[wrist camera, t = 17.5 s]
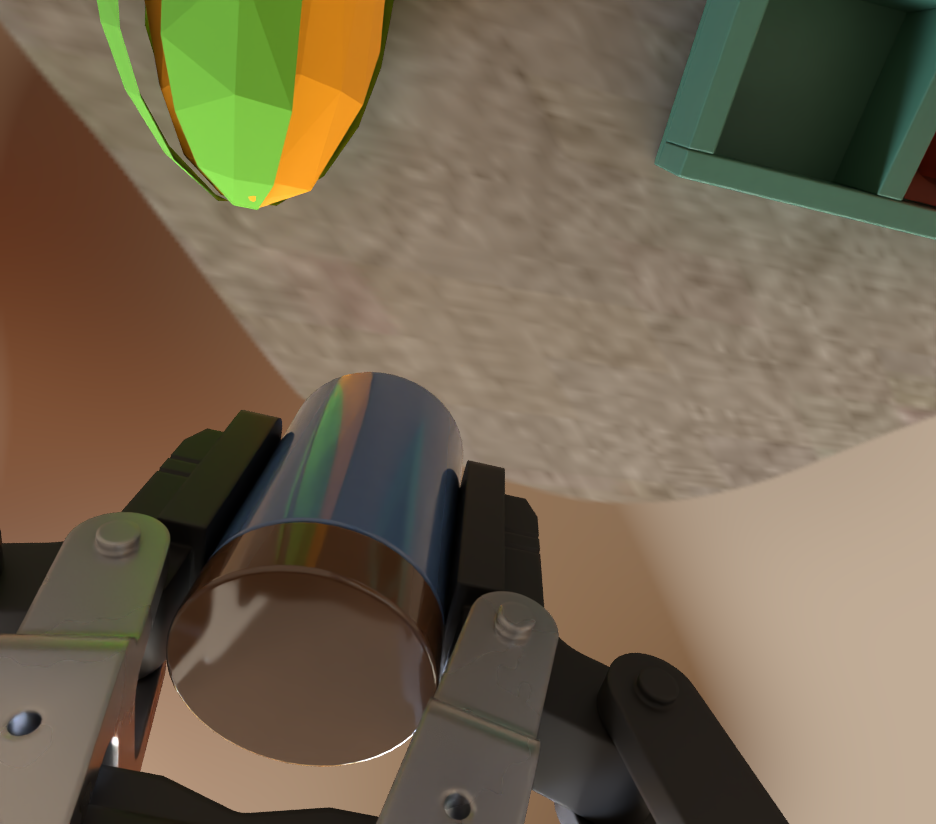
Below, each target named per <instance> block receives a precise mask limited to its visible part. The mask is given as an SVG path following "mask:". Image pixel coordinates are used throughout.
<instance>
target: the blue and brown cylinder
mask: <svg viewBox="0 0 936 824" xmlns="http://www.w3.org/2000/svg"><path fill="white" fill-rule="evenodd" d="M462 464H463V446H462V439H461V436H460V432H459V429H458V427H457V425H456V422H455V420H454V419H453V417H452V416H451V414H450V412H449V411H448V410H447V409H446V407H445V406H444V405H443V404H442V403H441V402H440V401H439V400H438V399H437V398H436V397H435V396H434V395H433V394H432V393H430V392H429V391H427V390H426V389H425V388H423V387H421V386H420V385H418V384H416V383H414V382H412V381H410V380H407V379H405V378H402V377H399V376H395V375H391V374H385V373H377V372H364V373H355V374H350V375H345V376H342V377H339V378H336V379H334V380H332V381H330V382H328V383H326V384H324V385H323V386H321V387H320V388H318V389H317V390H316V391H315V392H314V393H313V394H311V395H310V396H309V397H308V399H307V400H306V401H305V402H304V404H303V405H302V407H301V408H300V410H299V411H298V413H297V415H296V417H295V418H294V420H293V421H292V423H291V425H290V426H289V428H288V430H287V431H286V433H285V434H284V436H283V438H282V439H281V441H280V443H279V444H278V446H277V447H276V449H275V451H274V452H273V454H272V456H271V457H270V459H269V461H268V462H267V464H266V466H265V467H264V469H263V470H262V472H261V474H260V475H259V477H258V479H257V480H256V482H255V484H254V485H253V487H252V488H251V490H250V492H249V493H248V495H247V497H246V498H245V500H244V502H243V503H242V505H241V506H240V508H239V510H238V511H237V513H236V515H235V516H234V518H233V520H232V521H231V523H230V525H229V526H228V528H227V529H226V531H225V533H224V534H223V536H222V538H221V539H220V541H219V543H218V544H217V546H216V547H215V549H214V551H213V552H212V554H211V556H210V557H209V559H208V561H207V562H206V564H205V565H204V567H203V569H202V570H201V572H200V574H199V575H198V577H197V579H196V580H195V582H194V584H193V585H192V587H191V588H190V590H189V592H188V593H187V595H186V597H185V598H184V600H183V602H182V603H181V605H180V606H179V608H178V610H177V612H176V613H175V615H174V617H173V619H172V621H171V624H170V627H169V630H168V633H167V641H166V662H167V666H168V671H169V675H170V677H171V680H172V682H173V685H174V687H175V689H176V691H177V692H178V694H179V696H180V697H181V699H182V700H183V702H184V703H185V704H186V706H187V707H188V708H189V710H190V711H191V712H192V713H193V714H194V715H195V716H196V717H197V718H198V719H199V720H200V721H201V722H202V723H204V724H205V725H206V726H207V727H208V728H210V729H211V730H212V731H213V732H215V733H216V734H218V735H219V736H221V737H222V738H224V739H225V740H227V741H229V742H231V743H233V744H234V745H236V746H238V747H240V748H242V749H245V750H247V751H249V752H252V753H254V754H257V755H260V756H263V757H266V758H269V759H272V760H276V761H281V762H285V763H290V764H297V765H303V766H319V767H321V766H341V765H349V764H355V763H359V762H364V761H368V760H370V759H373V758H376V757H380V756H382V755H384V754H386V753H388V752H390V751H393V750H394V749H396V748H397V747H399V746H401V745H402V744H404V743H405V742H406V741H407V740H409V739H410V738H411V737H412V736H413V735H414V733H415V730H416V728H417V726H418V723H419V721H420V719H421V716H422V714H423V711H424V709H425V707H426V705H427V703H428V701H429V699H430V697H431V696H432V697H434V695H435V693H436V690H437V688H438V685H439V679H440V670H441V660H442V651H443V642H444V632H445V621H446V612H447V602H448V593H449V584H450V575H451V565H452V556H453V547H454V537H455V528H456V519H457V510H458V500H459V491H460V482H461V473H462Z"/></svg>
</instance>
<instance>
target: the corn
mask: <svg viewBox="0 0 936 824" xmlns="http://www.w3.org/2000/svg"><path fill="white" fill-rule="evenodd" d="M393 2H394V0H145V26H146V30H147V33H148V36H149V40H150V43H151V46H152V49H153V53H154V56H155V62H156V68H157V73H158V79H159V84H160V87H161V90H162V93H163V96H164V99H165V102H166V105H167V108H168V110H169V113H170V116H171V119H172V122H173V125H174V128H175V131H176V133H177V136H178V139H179V142H180V145H181V148H182V151H183V153H184V155H185V156H186V158H187V159H188V160H189V161H190V162H191V163H192V164H193V165H194V166H195V167H196V168H197V169H198V170H199V171H200V173H201V174H202V175H203V176H204V177H205V178H206V179H207V180H208V181H209V182H210V183H211V184H212V185H213V186H214V188H215V189H216V190H217V191H218V192H219V193H220V194H221V195H224V196H225V197H226V198H227V199H228V200H229V201H230V202H231V203H232V204H233V205H235V206H240V207H245V208H250V209H255V210H258V209H259V208H260V207H263V206H266V205H275V206H277V205H278V204H280V203H282V202H283V201H285V200H286V199H288V198H290V197H293V196H296V195H299V194H302V193H305V192H308V191H311V189H312V188H313V186H314V185H315V183H316V181H317V180H318V179H320V178H322V177H323V176H324V175H325V174H326V172H327V171H328V170H329V168H330V167H331V165H332V164H333V162H334V161H335V160H336V158H337V157H338V155H339V154H340V152H341V151H342V150H343V148H344V147H345V145H346V144H347V143H348V141H349V140H350V138H351V137H352V135H353V134H354V133H355V131H356V130H357V128H358V127H359V124H360V122H361V119H362V116H363V114H364V111H365V108H366V106H367V103H368V101H369V98H370V95H371V93H372V90H373V87H374V85H375V82H376V80H377V77H378V74H379V72H380V69H381V65H382V60H383V55H384V49H385V44H386V39H387V34H388V28H389V23H390V18H391V13H392V7H393ZM97 3H98V9H99V15H100V21H101V24H102V27H103V29H104V32H105V35H106V38H107V40H108V43H109V46H110V49H111V52H112V54H113V57H114V60H115V63H116V65H117V68H118V71H119V74H120V77H121V79H122V82H123V85H124V88H125V89H126V91H127V93H128V94H129V96H130V98H131V99H132V101H133V102H134V104H135V106H136V107H137V109H138V111H139V112H140V114H141V115H142V117H143V119H144V120H145V122H146V124H147V125H148V127H149V128H150V130H151V132H152V133H153V135H154V137H155V138H156V140H157V141H158V143H159V145H160V146H161V148H162V150H163V151H164V153H165V154H167V155H168V156H169V157H170V158H171V159H172V160H173V161H174V162H175V163H177V164H178V165H179V166H180V167H181V168H182V169H183V170H184V171H185V172H187V173H188V174H189V175H190V176H191V177H192V178H193V179H194V180H195V181H197V182H198V183H199V184H200V185H201V186H202V187H203V188H204V189H205V190H207V191H208V192H209V193H210V194H211V195H212V196H213V197H214V198H215V199H217V200H218V201H228V200H226V199H224V198H222V197H220V196H218V195H215V194H214V193H213V192H212V190H211V189H210V188H209V187H208V186H207V185H206V184H205V183H204V182H203V181H202V180H201V179H200V178H199V177H198V176H197V175H196V174H195V173H194V171H193V170H192V169H191V168H190V167H189V166H188V165H187V164H186V163H185V162H184V161H183V160H182V159H181V158H180V157H179V156H178V155H177V154H176V152H175V151H174V150H173V149H172V148H171V147H170V146H169V145H168V143H167V141H166V139H165V138H164V136H163V134H162V132H161V130H160V129H159V127H158V125H157V123H156V121H155V120H154V118H153V116H152V114H151V112H150V111H149V109H148V107H147V105H146V103H145V102H144V100H143V98H142V96H141V94H140V93H139V90H138V86H137V83H136V80H135V76H134V73H133V70H132V66H131V63H130V60H129V57H128V53H127V50H126V47H125V43H124V40H123V37H122V34H121V30H120V23H119V8H118V0H97Z"/></svg>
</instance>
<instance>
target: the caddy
mask: <svg viewBox="0 0 936 824" xmlns="http://www.w3.org/2000/svg"><path fill="white" fill-rule="evenodd" d="M935 132H936V0H707V2H706V5H705V8H704V11H703V15H702V18H701V21H700V24H699V27H698V30H697V33H696V36H695V39H694V42H693V45H692V48H691V51H690V55H689V58H688V61H687V64H686V67H685V70H684V73H683V76H682V79H681V82H680V85H679V88H678V92H677V95H676V98H675V101H674V104H673V107H672V110H671V113H670V116H669V119H668V122H667V125H666V128H665V132H664V135H663V138H662V141H661V144H660V147H659V150H658V153H657V156H656V159H655V165H657V166H659V167H661V168H663V169H665V170H667V171H669V172H671V173H673V174H675V175H677V176H679V177H681V178H685V179H689V180H693V181H698V182H702V183H706V184H710V185H714V186H718V187H722V188H726V189H730V190H734V191H738V192H743V193H747V194H751V195H755V196H759V197H763V198H767V199H771V200H775V201H779V202H783V203H788V204H792V205H796V206H800V207H804V208H808V209H812V210H816V211H820V212H824V213H828V214H833V215H837V216H841V217H845V218H849V219H853V220H857V221H861V222H865V223H869V224H873V225H878V226H882V227H886V228H890V229H894V230H898V231H902V232H906V233H910V234H914V235H918V236H922V237H927V238H931V239H935V240H936V185H934V184H932V183H930V182H928V181H927V180H926V179H925V178H923V177H922V176H921V175H920V173H919V172H918V171H917V169H918V167H919V165H920V163H921V161H922V159H923V157H924V155H925V153H926V151H927V148H928V146H929V144H930V142H931V140H932V138H933V136H934V134H935Z"/></svg>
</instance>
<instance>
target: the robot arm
mask: <svg viewBox="0 0 936 824" xmlns="http://www.w3.org/2000/svg"><path fill="white" fill-rule="evenodd" d="M281 433H282V420H281V418H277V417H273V416H268V415H263V414H259V413H255V412H250V411H246V410H241V411H240V412H239V413H238V414H237V416H236V417H235V418H234V419H233V421H232V422H231V423H230V424H229V426H228V427H227V428H226V430H225V431H224V432H221V431H216V430H211V429H205V430H203V431H201V432H199V433H197V434H195V435H193V436H191V437H189V438H187V439H185V440H184V441H183V442H182V443H181V444H180V445H179V446H178V448H177V449H176V450H175V451H174V452H173V453H172V454H171V457H170V458H168V459H167V460H166V461H165V462H164V464H163V465H162V466H161V467H160V470H159V471H157V472H156V473H155V474H154V475H153V476H152V477H151V478H150V480H149V481H148V482H147V483H146V484H145V485H144V486H143V488H142V489H141V490H140V491H139V492H138V493H137V494H136V496H135V497H134V498H133V499H132V500H131V501H130V502H129V504H128V505H127V506H126V507H125V508H124V509H123V510H122V512H117V513H109V514H103V515H100V516H97V517H94V518H91V519H88V520H86V521H84V522H82V523H81V524H79V525H78V526H76V527H75V528H74V529H73V530H72V531H71V532H70V533H69V534H68V535H67V537H66V538H65V540H64V541H63V542H52V543H2V538H1V531H0V824H524V821H525V817H526V812H527V807H528V803H529V798H530V793H531V790H533V791H535V792H537V793H539V794H541V795H543V796H545V797H546V798H548V799H550V800H552V801H554V805H555V810H556V813H557V816H558V818H559V821H560V823H561V824H789V823H788V822H787V820H786V819H785V817H784V816H783V814H782V813H781V811H780V810H779V809H778V807H777V806H776V804H775V803H774V801H773V800H772V799H771V797H770V795H769V794H768V793H767V791H766V790H765V788H764V787H763V785H762V784H761V783H760V781H759V780H758V778H757V777H756V775H755V774H754V772H753V771H752V770H751V768H750V766H749V765H748V764H747V762H746V761H745V759H744V758H743V756H742V755H741V754H740V752H739V751H738V749H737V748H736V746H735V745H734V743H733V742H732V740H731V739H730V738H729V736H728V735H727V733H726V732H725V730H724V729H723V727H722V726H721V725H720V723H719V722H718V720H717V719H716V717H715V716H714V714H713V713H712V712H711V710H710V709H709V707H708V706H707V704H706V703H705V701H704V700H703V699H702V697H701V696H700V694H699V693H698V691H697V690H696V688H695V687H694V686H693V684H692V683H691V682H690V681H689V679H688V678H687V677H686V676H685V675H684V674H683V673H681V672H680V671H679V670H678V669H677V668H675V667H674V666H672V665H670V664H669V663H667V662H665V661H664V660H662V659H659V658H657V657H654V656H651V655H647V654H641V653H629V654H624V655H622V656H619V657H618V658H616V659H615V660H614V661H613V662H612V664H611V665H610V667H608V666H606V665H604V664H602V663H600V662H598V661H596V660H593V659H592V658H589V657H587V656H585V655H583V654H581V653H580V652H578V651H576V650H574V649H573V648H571V647H570V646H568V645H567V644H566V643H565V642H564V641H562V640H561V639H560V638H559V637H558V628H557V625H556V623H555V621H554V619H553V618H552V617H551V615H550V614H549V612H548V611H547V610H545V608H544V600H543V587H542V573H541V559H540V554H539V551H540V545H539V539H538V536H539V534H538V533H539V532H538V519H537V516H536V514H535V513H534V511H533V510H532V508H531V506H530V505H529V503H528V502H527V500H526V499H524V498H519V497H514V496H510V495H506V494H505V469H504V468H501V467H496V466H492V465H487V464H483V463H478V462H474V461H469V460H468V461H467V464H466V467H465V471H464V475H463V478H462V482H461V486H460V491H459V500H458V510H457V519H456V528H455V537H454V547H453V556H452V565H451V575H450V584H449V593H448V602H447V612H446V621H445V632H444V642H443V651H442V660H441V670H440V679H439V685H438V688H437V690H436V693H435V695H434V697H432V696H431V697H430V699H429V701H428V703H427V705H426V707H425V709H424V711H423V714H422V716H421V719H420V721H419V723H418V726H417V728H416V730H415V733H414V735H413V738H412V740H411V742H410V745H409V747H408V749H407V752H406V754H405V757H404V759H403V761H402V763H401V766H400V768H399V770H398V773H397V775H396V778H395V780H394V782H393V785H392V787H391V790H390V792H389V794H388V797H387V799H386V801H385V804H384V806H383V808H382V811H381V813H380V815H379V817H377V816H371V815H366V814H361V813H356V812H351V811H345V810H340V809H335V808H315V809H301V810H287V811H272V812H258V813H240V812H236V811H233V810H231V809H229V808H227V807H225V806H223V805H221V804H219V803H217V802H215V801H213V800H210V799H209V798H206V797H204V796H202V795H201V794H199V793H197V792H194V791H193V790H190V789H188V788H186V787H184V786H182V785H180V784H178V783H176V782H174V781H172V780H170V779H168V778H166V777H164V776H161V775H155V774H150V773H145V772H140V770H141V766H142V762H143V758H144V754H145V750H146V746H147V742H148V739H149V735H150V731H151V727H152V723H153V719H154V715H155V711H156V707H157V703H158V699H159V695H160V691H161V687H162V684H163V679H164V676H165V670H166V641H167V633H168V630H169V627H170V624H171V621H172V619H173V617H174V615H175V613H176V612H177V610H178V608H179V606H180V605H181V603H182V602H183V600H184V598H185V597H186V595H187V593H188V592H189V590H190V588H191V587H192V585H193V584H194V582H195V580H196V579H197V577H198V575H199V574H200V572H201V570H202V569H203V567H204V565H205V564H206V562H207V561H208V559H209V557H210V556H211V554H212V552H213V551H214V549H215V547H216V546H217V544H218V543H219V541H220V539H221V538H222V536H223V534H224V533H225V531H226V529H227V528H228V526H229V525H230V523H231V521H232V520H233V518H234V516H235V515H236V513H237V511H238V510H239V508H240V506H241V505H242V503H243V502H244V500H245V498H246V497H247V495H248V493H249V492H250V490H251V488H252V487H253V485H254V484H255V482H256V480H257V479H258V477H259V475H260V474H261V472H262V470H263V469H264V467H265V466H266V464H267V462H268V461H269V459H270V457H271V456H272V454H273V452H274V451H275V449H276V447H277V446H278V444H279V443H280V441H281Z"/></svg>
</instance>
